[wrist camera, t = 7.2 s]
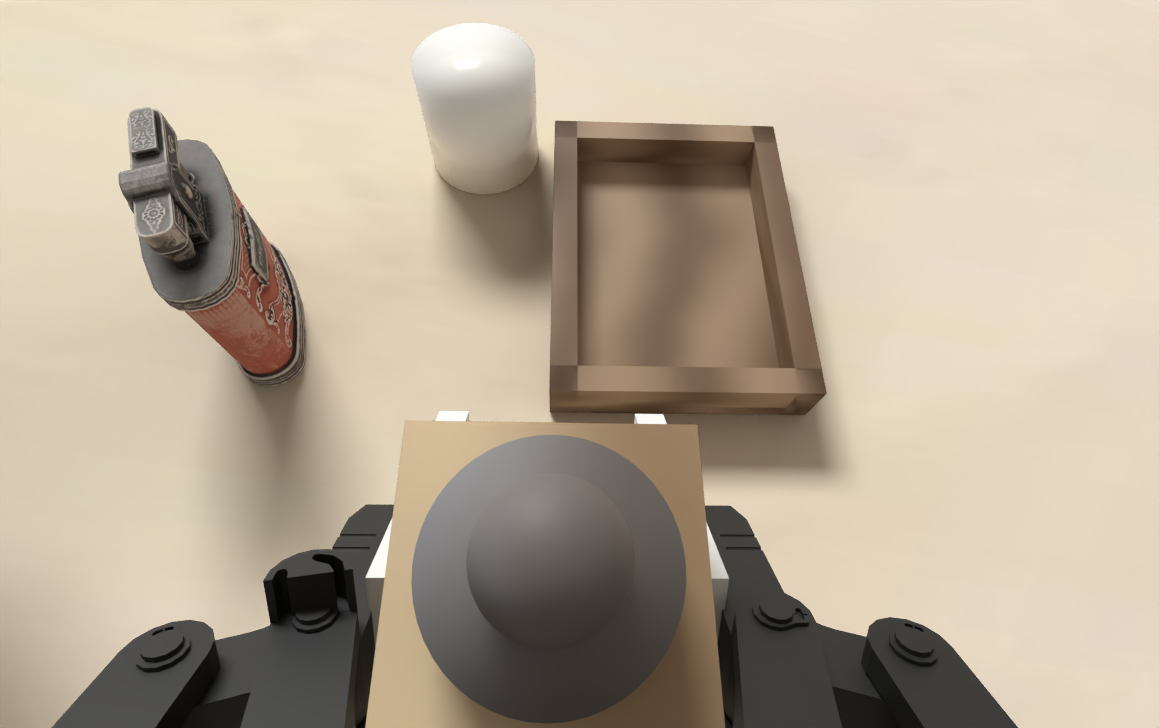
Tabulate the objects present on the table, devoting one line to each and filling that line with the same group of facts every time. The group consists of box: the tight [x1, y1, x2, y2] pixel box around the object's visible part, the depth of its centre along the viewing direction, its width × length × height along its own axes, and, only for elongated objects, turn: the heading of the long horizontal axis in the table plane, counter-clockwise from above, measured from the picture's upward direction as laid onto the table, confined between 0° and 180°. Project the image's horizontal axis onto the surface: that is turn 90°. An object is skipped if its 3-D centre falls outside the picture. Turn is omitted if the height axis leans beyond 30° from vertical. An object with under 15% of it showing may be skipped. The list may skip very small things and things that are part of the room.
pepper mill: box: [365, 420, 725, 728], centre depth 12 cm, size 4×4×14 cm
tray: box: [550, 121, 827, 415], centre depth 31 cm, size 12×16×2 cm
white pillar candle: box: [411, 23, 538, 194], centre depth 32 cm, size 6×6×6 cm
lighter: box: [119, 107, 306, 387], centre depth 25 cm, size 8×3×10 cm, turn 20°
